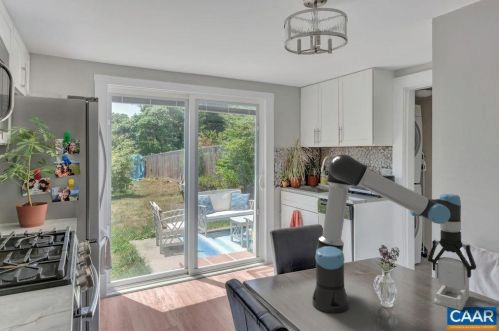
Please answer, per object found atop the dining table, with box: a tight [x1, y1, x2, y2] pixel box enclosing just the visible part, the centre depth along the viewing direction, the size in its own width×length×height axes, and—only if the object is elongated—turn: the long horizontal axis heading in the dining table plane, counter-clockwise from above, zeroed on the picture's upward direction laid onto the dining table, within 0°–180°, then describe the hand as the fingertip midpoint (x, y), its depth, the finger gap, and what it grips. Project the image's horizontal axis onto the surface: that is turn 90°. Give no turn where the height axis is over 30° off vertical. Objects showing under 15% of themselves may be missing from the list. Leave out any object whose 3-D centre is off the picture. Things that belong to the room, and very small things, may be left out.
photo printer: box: [437, 256, 466, 290], centre depth 133 cm, size 10×4×12 cm, turn 39°
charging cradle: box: [433, 267, 470, 311], centre depth 134 cm, size 10×18×14 cm, turn 136°
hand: (451, 281), depth 133 cm, fingers closed on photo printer, 10 cm apart
